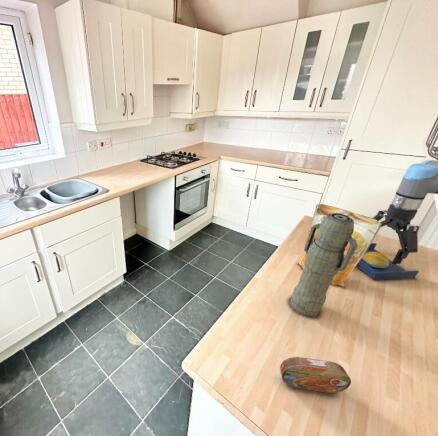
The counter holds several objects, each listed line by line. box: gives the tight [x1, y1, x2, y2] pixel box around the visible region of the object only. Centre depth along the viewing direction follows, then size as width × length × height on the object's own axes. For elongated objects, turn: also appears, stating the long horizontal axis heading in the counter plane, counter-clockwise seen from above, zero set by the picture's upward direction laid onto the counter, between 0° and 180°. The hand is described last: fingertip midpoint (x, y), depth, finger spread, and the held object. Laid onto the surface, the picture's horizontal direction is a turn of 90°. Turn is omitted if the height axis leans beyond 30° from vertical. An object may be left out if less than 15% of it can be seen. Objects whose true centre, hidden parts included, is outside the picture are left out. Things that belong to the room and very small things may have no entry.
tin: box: [279, 356, 352, 394], centre depth 60 cm, size 15×3×8 cm, turn 80°
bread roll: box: [362, 251, 390, 268], centre depth 101 cm, size 8×9×4 cm
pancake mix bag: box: [298, 203, 382, 288], centre depth 91 cm, size 7×19×28 cm, turn 34°
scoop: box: [356, 242, 420, 281], centre depth 101 cm, size 26×19×4 cm
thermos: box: [289, 213, 358, 318], centre depth 75 cm, size 9×12×35 cm
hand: (380, 253), depth 99 cm, fingers open, 13 cm apart
